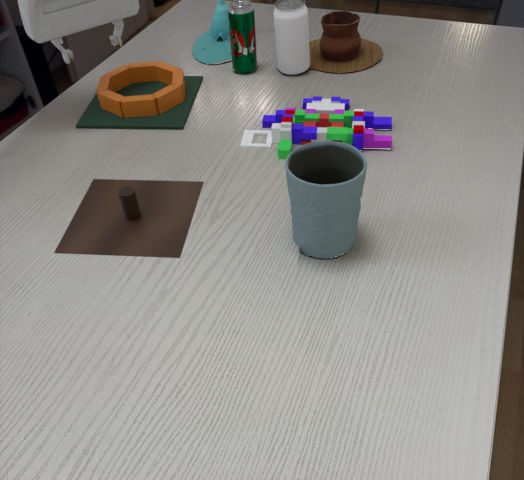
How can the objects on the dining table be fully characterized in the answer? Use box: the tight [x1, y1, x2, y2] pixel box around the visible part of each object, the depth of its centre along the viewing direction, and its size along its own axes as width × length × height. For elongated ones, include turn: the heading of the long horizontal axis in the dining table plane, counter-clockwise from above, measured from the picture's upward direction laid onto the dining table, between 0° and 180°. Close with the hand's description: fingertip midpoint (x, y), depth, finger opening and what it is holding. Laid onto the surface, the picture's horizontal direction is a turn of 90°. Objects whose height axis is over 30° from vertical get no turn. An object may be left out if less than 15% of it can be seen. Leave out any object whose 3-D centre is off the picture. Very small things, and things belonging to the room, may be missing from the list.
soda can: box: [228, 0, 258, 75], centre depth 106 cm, size 5×5×12 cm
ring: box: [95, 60, 185, 118], centre depth 103 cm, size 16×16×3 cm
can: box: [273, 0, 310, 76], centre depth 105 cm, size 6×6×12 cm
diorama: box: [191, 0, 232, 65], centre depth 116 cm, size 12×20×9 cm, turn 173°
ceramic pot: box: [308, 10, 384, 75], centre depth 111 cm, size 18×18×7 cm
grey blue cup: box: [284, 141, 368, 258], centre depth 71 cm, size 10×10×12 cm
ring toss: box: [54, 178, 205, 259], centre depth 79 cm, size 18×18×5 cm
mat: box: [74, 75, 204, 130], centre depth 104 cm, size 20×20×1 cm
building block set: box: [239, 95, 393, 160], centre depth 92 cm, size 25×20×4 cm
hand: (94, 54), depth 98 cm, fingers open, 8 cm apart
